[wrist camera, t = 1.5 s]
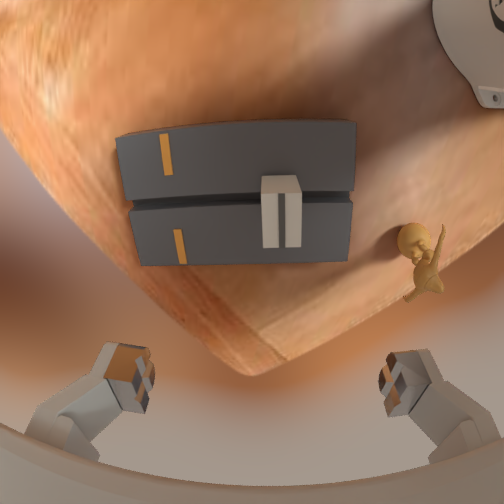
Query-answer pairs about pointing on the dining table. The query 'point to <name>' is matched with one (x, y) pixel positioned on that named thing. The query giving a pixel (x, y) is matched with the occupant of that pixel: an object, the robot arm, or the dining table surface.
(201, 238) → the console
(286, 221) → the fader tab
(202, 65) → the dining table surface
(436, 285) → the figurine
